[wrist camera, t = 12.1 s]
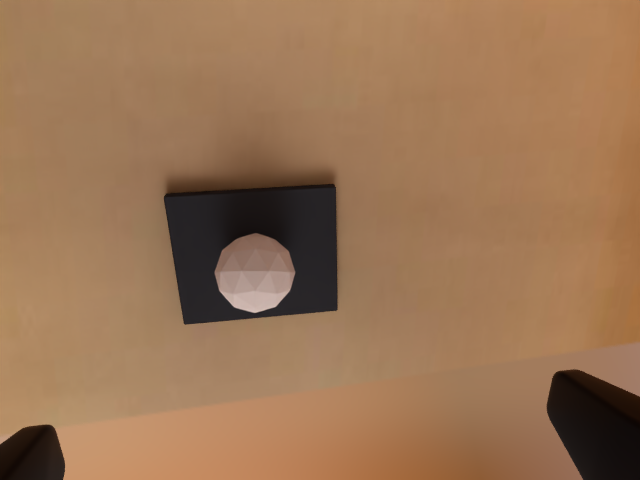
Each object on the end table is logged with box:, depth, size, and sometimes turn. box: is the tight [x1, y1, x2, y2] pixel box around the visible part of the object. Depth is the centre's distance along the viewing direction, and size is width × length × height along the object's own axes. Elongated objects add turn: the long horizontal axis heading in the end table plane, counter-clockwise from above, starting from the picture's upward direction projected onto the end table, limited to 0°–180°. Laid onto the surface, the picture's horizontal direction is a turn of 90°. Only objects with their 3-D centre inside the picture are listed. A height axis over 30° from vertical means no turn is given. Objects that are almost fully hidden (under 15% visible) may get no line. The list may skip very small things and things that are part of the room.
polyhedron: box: [214, 233, 295, 313], centre depth 16 cm, size 3×3×3 cm
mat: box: [164, 184, 337, 325], centre depth 18 cm, size 7×6×1 cm
